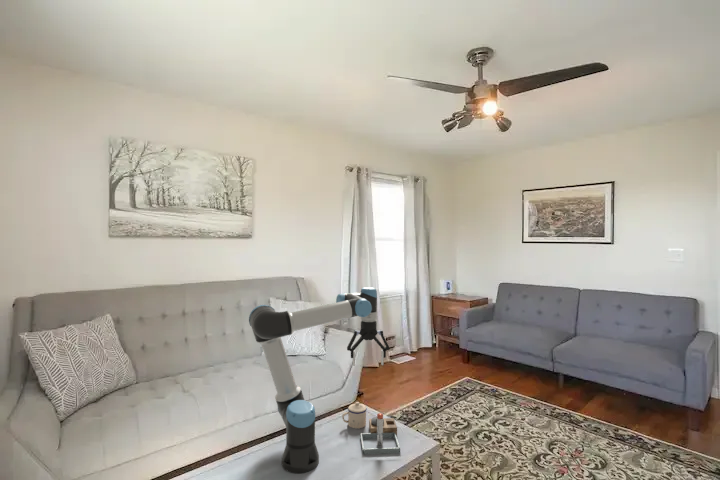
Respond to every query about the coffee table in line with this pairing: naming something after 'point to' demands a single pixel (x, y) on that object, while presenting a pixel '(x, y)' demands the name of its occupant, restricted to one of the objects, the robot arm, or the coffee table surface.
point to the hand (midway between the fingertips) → (368, 364)
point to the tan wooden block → (388, 425)
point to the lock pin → (379, 430)
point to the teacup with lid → (356, 415)
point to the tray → (379, 450)
